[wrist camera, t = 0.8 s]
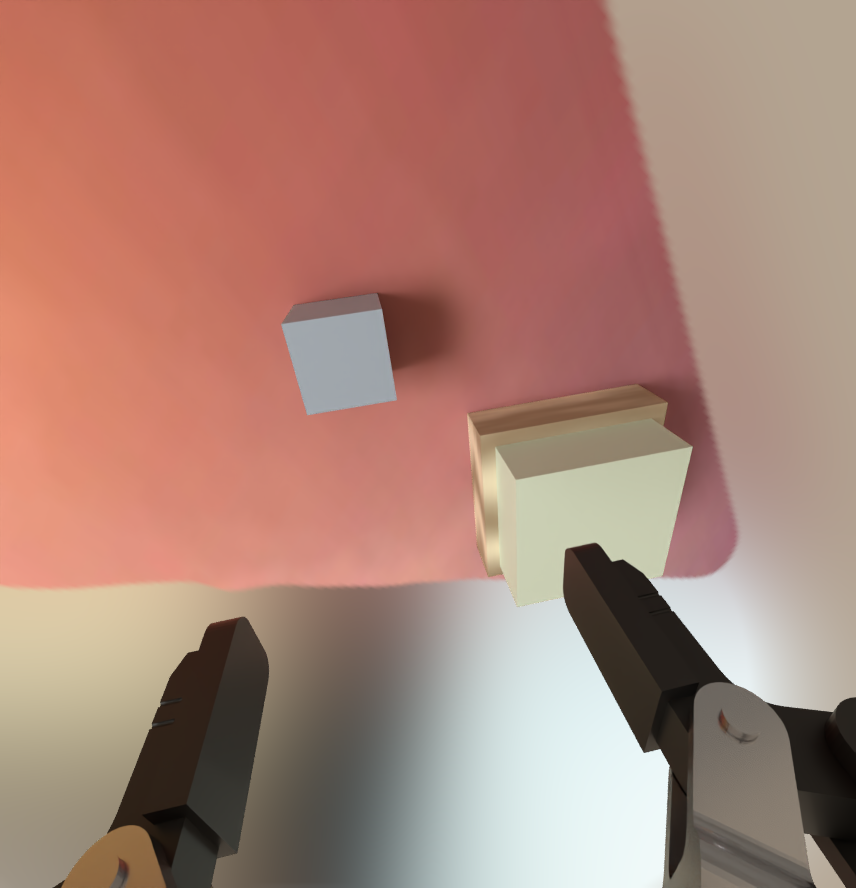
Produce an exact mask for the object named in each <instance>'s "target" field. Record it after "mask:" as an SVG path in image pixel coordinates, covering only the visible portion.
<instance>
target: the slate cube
mask: <svg viewBox="0 0 856 888" xmlns="http://www.w3.org/2000/svg"><path fill="white" fill-rule="evenodd" d="M281 325H282V329H283V332H284V336H285V339H286V343H287V346H288V349H289V353H290V356H291V360H292V363H293V367H294V370H295V374H296V377H297V381H298V384H299V388H300V391H301V395H302V398H303V402H304V405H305V409H306V412H307V415H311V414H317V413H323V412H329V411H335V410H341V409H347V408H353V407H359V406H365V405H371V404H377V403H383V402H389V401H395V400H397V398H396V392H395V386H394V380H393V374H392V367H391V361H390V355H389V349H388V343H387V337H386V331H385V325H384V319H383V313H382V308H381V304H380V301H379V298H378V294H377V293H373V294H366V295H359V296H353V297H346V298H339V299H332V300H325V301H319V302H312V303H305V304H298V305H293V307H292V308H291V310H290V312H289V313H288V315H287V316H286V318H285V319H284V321H283V322H282V324H281Z"/></svg>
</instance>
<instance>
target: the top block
mask: <svg viewBox="0 0 856 888" xmlns="http://www.w3.org/2000/svg"><path fill="white" fill-rule="evenodd" d="M692 448H693V446H691V445H690V444H688V443H687V442H685V441H684V440H682V439H681V438H679V437H678V436H677V435H675V434H674V433H672V432H671V431H669V430H668V429H666V428H665V427H663V426H662V425H660V424H659V423H657V422H656V421H655V420H653V419H652V418H651V419H645V420H640V421H634V422H629V423H623V424H618V425H612V426H607V427H601V428H596V429H590V430H585V431H579V432H574V433H568V434H563V435H557V436H552V437H546V438H541V439H535V440H529V441H524V442H518V443H513V444H507V445H502V446H496V447H495V450H496V476H497V502H498V528H499V554H500V567H501V570H502V572H503V574H504V577H505V579H506V582H507V584H508V586H509V588H510V591H511V594H512V596H513V598H514V601H515V603H516V605H517V607H520V606H525V605H529V604H534V603H539V602H543V601H548V600H553V599H557V598H561V597H564V595H563V575H564V557H565V550H566V549H567V548H571V547H576V546H581V545H585V544H590V543H597V544H599V545H600V546H601V547H602V549H603V550H604V551H605V553H606V554H607V555H608V557H609V558H610V560H611V561H612V562H613V561H617V560H622V559H623V560H625V561H626V562H628V563H629V564H631V565H632V566H634V567H635V568H637V569H638V570H639V571H641V572H642V573H644V575H645V576H646V577H647V578H648V579H651V578H655V577H660V576H663V572H664V567H665V563H666V559H667V554H668V550H669V546H670V542H671V537H672V533H673V529H674V525H675V520H676V516H677V512H678V508H679V503H680V499H681V495H682V491H683V486H684V482H685V478H686V474H687V469H688V465H689V461H690V457H691V452H692Z"/></svg>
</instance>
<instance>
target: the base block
mask: <svg viewBox="0 0 856 888" xmlns="http://www.w3.org/2000/svg"><path fill="white" fill-rule="evenodd" d="M667 405H668V402H667V401H665V400H663V399H662V398H660V397H658V396H657V395H655V394H653V393H651V392H650V391H648V390H646V389H645V388H643V387H641V386H640V385H638V384H634V385H628V386H622V387H617V388H611V389H605V390H599V391H594V392H588V393H582V394H576V395H570V396H565V397H559V398H553V399H547V400H541V401H536V402H530V403H524V404H518V405H513V406H507V407H501V408H495V409H489V410H484V411H478V412H472V413H467V417H468V430H469V444H470V458H471V471H472V485H473V498H474V512H475V526H476V539H477V548H478V550H479V553H480V556H481V559H482V561H483V564H484V567H485V569H486V572H487V575H488V577H491V576H496V575H501V574H503V572H502V570H501V567H500V554H499V528H498V502H497V476H496V450H495V447H496V446H502V445H507V444H513V443H518V442H524V441H529V440H535V439H541V438H546V437H552V436H557V435H563V434H568V433H574V432H579V431H585V430H590V429H596V428H601V427H607V426H612V425H618V424H623V423H629V422H634V421H640V420H645V419H651V418H652V419H653V420H655V421H656V422H657V423H659V424H660V425H662V426H664V421H665V415H666V410H667Z"/></svg>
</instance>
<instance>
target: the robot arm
mask: <svg viewBox="0 0 856 888" xmlns="http://www.w3.org/2000/svg"><path fill="white" fill-rule="evenodd" d="M563 595H564V599H565V603H566V606H567V608H568V611H569V613H570V615H571V617H572V618H573V621H574V622H575V624H576V626H577V628H578V630H579V632H580V634H581V636H582V637H583V639H584V641H585V643H586V645H587V647H588V649H589V651H590V653H591V654H592V656H593V658H594V660H595V662H596V664H597V666H598V668H599V670H600V671H601V673H602V675H603V677H604V679H605V681H606V683H607V685H608V686H609V688H610V690H611V692H612V694H613V696H614V698H615V700H616V701H617V703H618V705H619V707H620V709H621V711H622V713H623V715H624V717H625V718H626V720H627V722H628V724H629V726H630V728H631V730H632V732H633V733H634V735H635V737H636V739H637V741H638V743H639V745H640V747H641V748H642V750H643V752H644V753H646V752H650V751H654V750H658V749H661V751H662V753H663V755H664V756H665V758H666V760H667V762H668V764H669V765H670V767H669V778H668V800H667V820H666V842H665V862H664V879H663V887H662V888H816V886H815V885H814V882H813V880H812V877H811V873H810V869H809V863H808V856H807V850H806V844H805V837H804V833H806V834H810V835H811V836H812V838H813V839H814V841H815V842H816V844H817V845H818V847H819V848H820V850H821V851H822V853H823V854H824V855H825V857H826V859H827V860H828V861H829V863H830V864H831V866H832V867H833V869H834V870H835V872H836V873H837V875H838V876H839V878H840V879H841V881H842V882H843V884H844V885H845V887H846V888H856V697H855V698H849V699H846V700H844V701H842V702H841V703H840V704H839V705H838V706H837V708H836V709H835V710H834V712H827V711H818V710H809V709H801V708H792V707H784V706H778V705H774V704H770V703H767V702H764V701H763V700H762V699H761V698H759V697H758V696H756V695H755V694H754V693H752V692H750V691H748V690H746V689H744V688H742V687H739V686H737V685H734V684H733V683H732V682H731V681H730V680H729V679H728V678H727V677H726V676H725V675H724V674H723V673H722V672H721V671H720V670H719V668H718V667H717V666H716V664H715V663H714V662H713V661H712V659H711V658H710V657H709V656H708V654H707V653H706V652H705V651H704V650H703V648H702V647H701V645H700V644H699V643H698V642H697V640H696V639H695V638H694V637H693V636H692V634H691V633H690V632H689V630H688V629H687V628H686V627H685V625H684V624H683V623H682V622H681V620H680V619H679V618H678V616H677V615H676V614H675V613H674V611H671V609H670V606H669V605H668V604H667V603H666V601H665V600H664V599H663V598H662V596H659V594H658V591H657V590H656V589H655V587H654V586H653V585H652V584H651V582H650V581H649V580H648V578H647V577H646V576H645V575H644V573H642V572H641V571H639V570H638V569H637V568H635V567H634V566H632V565H631V564H629V563H628V562H626V561H625V560H623V559H622V560H617V561H613V562H612V561H611V560H610V558H609V557H608V555H607V554H606V553H605V551H604V550H603V549H602V547H601V546H600V545H599V544H597V543H590V544H585V545H581V546H576V547H571V548H567V549H566V550H565V557H564V575H563ZM268 678H269V664H268V658H267V655H266V652H265V650H264V648H263V646H262V645H261V643H260V641H259V639H258V637H257V636H256V634H255V632H254V630H253V628H252V626H251V625H250V623H249V621H248V620H247V618H245V617H239V618H234V619H230V620H225V621H220V622H216V623H212V624H210V625H209V626H208V627H207V629H206V631H205V634H204V637H203V639H202V642H201V645H200V648H199V651H194V652H189V653H187V655H186V656H185V657H184V659H183V660H182V661H181V663H180V664H179V665H178V667H177V668H176V670H175V671H174V672H173V673H172V675H171V676H170V678H169V681H168V683H167V686H166V689H165V691H164V694H163V696H162V699H161V702H160V703H161V706H160V707H158V709H157V712H156V714H155V717H154V720H153V722H152V729H150V730H149V732H148V735H147V737H146V740H145V743H144V745H143V748H142V750H141V753H140V755H139V758H138V761H137V763H136V766H135V768H134V771H133V773H132V776H131V779H130V781H129V784H128V786H127V789H126V791H125V794H124V797H123V799H122V802H121V805H120V807H119V810H118V812H117V815H116V817H115V819H114V821H113V823H112V825H111V827H110V829H109V831H108V833H107V834H106V835H105V836H103V837H102V838H101V839H99V840H98V841H97V842H96V843H94V844H93V845H92V846H91V847H90V848H89V849H88V850H87V851H86V852H85V853H84V854H83V856H82V857H81V858H80V859H79V860H78V862H77V863H76V864H75V865H74V867H73V868H72V870H71V871H70V873H69V874H68V876H67V878H66V879H65V880H64V881H62V882H61V883H59V884H58V885H56V886H55V887H53V888H213V886H212V884H211V883H212V879H213V874H214V869H215V864H216V859H217V858H220V857H224V856H229V855H232V854H237V851H238V846H239V841H240V835H241V830H242V824H243V818H244V812H245V807H246V802H247V796H248V790H249V785H250V779H251V773H252V768H253V762H254V757H255V751H256V746H257V740H258V735H259V729H260V724H261V718H262V712H263V707H264V701H265V696H266V690H267V685H268Z"/></svg>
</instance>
